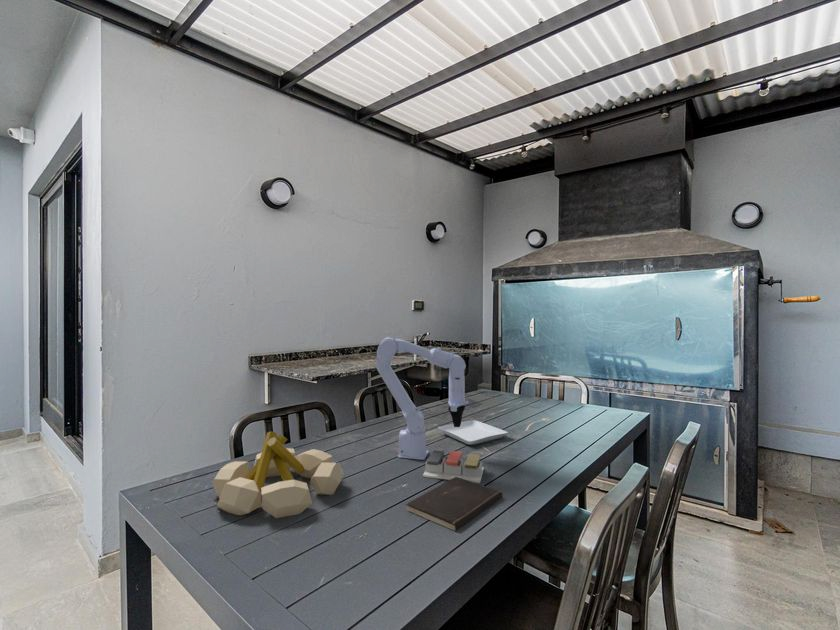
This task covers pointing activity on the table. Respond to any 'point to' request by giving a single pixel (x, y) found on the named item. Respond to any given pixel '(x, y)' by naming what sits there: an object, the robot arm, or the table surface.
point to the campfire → (280, 498)
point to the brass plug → (472, 461)
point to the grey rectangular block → (435, 458)
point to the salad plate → (473, 432)
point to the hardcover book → (454, 502)
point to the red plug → (453, 458)
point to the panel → (453, 471)
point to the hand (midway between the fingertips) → (457, 426)
